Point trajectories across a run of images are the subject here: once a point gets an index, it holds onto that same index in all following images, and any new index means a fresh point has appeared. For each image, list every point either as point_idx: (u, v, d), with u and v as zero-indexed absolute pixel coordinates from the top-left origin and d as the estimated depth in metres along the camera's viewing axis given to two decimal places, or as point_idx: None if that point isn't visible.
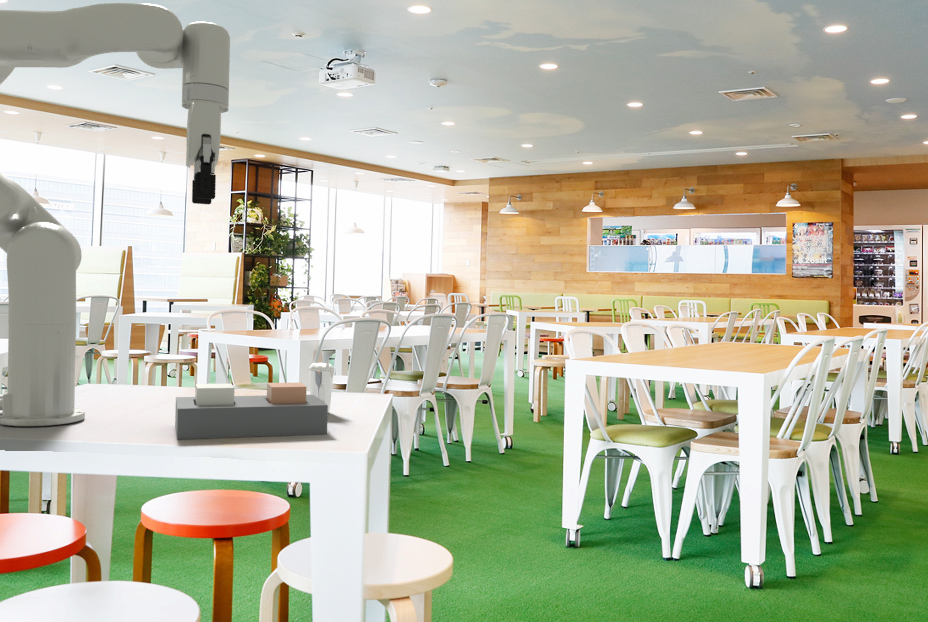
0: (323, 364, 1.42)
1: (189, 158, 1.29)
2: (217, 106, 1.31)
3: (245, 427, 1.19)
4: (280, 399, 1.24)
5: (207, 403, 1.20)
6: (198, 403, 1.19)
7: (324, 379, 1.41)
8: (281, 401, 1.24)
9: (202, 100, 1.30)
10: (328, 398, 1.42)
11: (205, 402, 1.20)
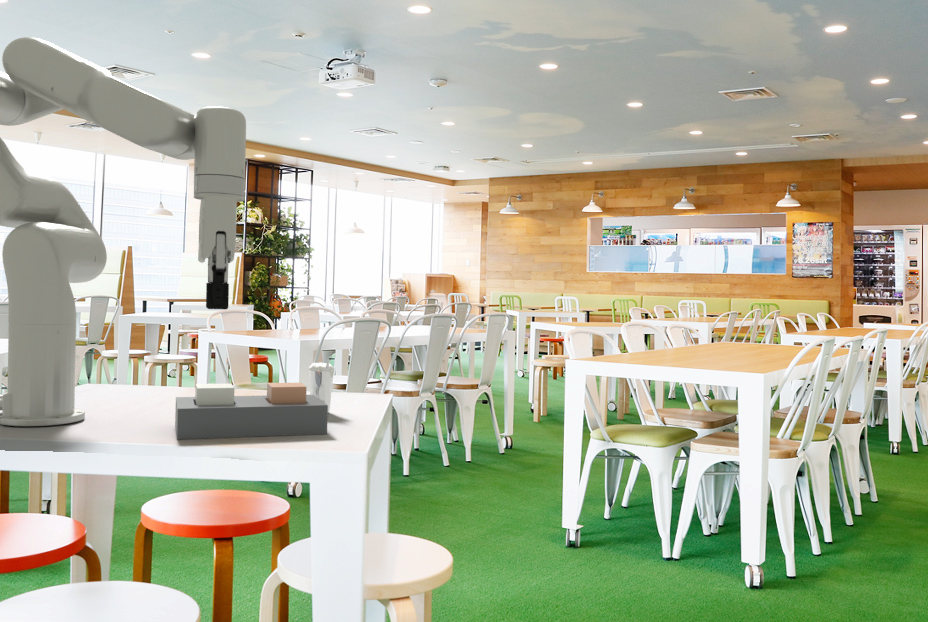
0: (323, 364, 1.42)
1: (202, 258, 1.17)
2: (233, 199, 1.19)
3: (245, 427, 1.19)
4: (280, 399, 1.24)
5: (207, 403, 1.20)
6: (198, 403, 1.19)
7: (324, 379, 1.41)
8: (281, 401, 1.24)
9: (216, 193, 1.18)
10: (328, 398, 1.42)
11: (205, 402, 1.20)
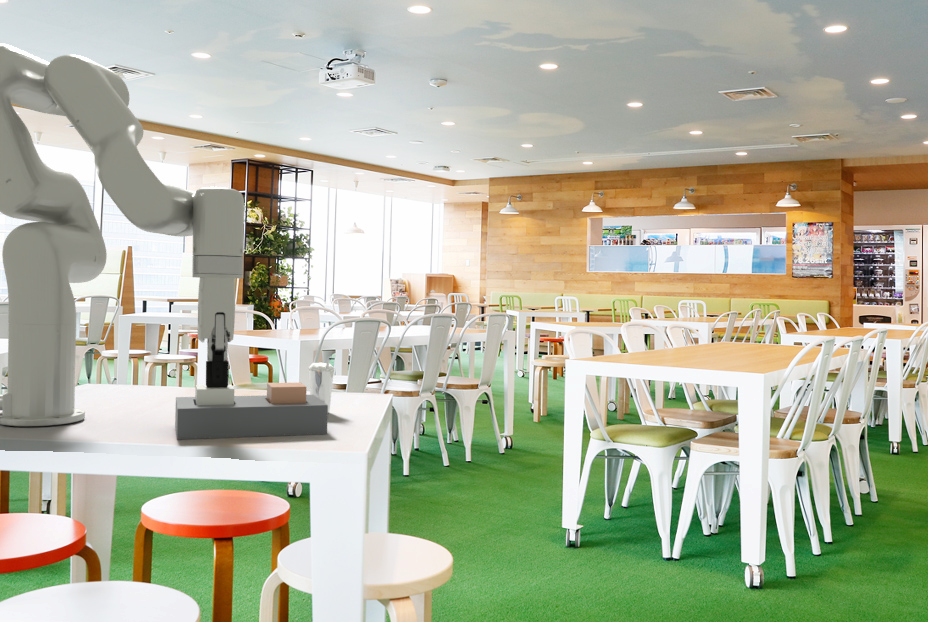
0: (323, 364, 1.42)
1: (201, 339, 1.17)
2: (231, 279, 1.19)
3: (245, 427, 1.19)
4: (280, 399, 1.24)
5: (207, 404, 1.20)
6: (198, 404, 1.19)
7: (324, 379, 1.41)
8: (281, 401, 1.24)
9: (215, 274, 1.19)
10: (328, 398, 1.42)
11: (205, 403, 1.20)
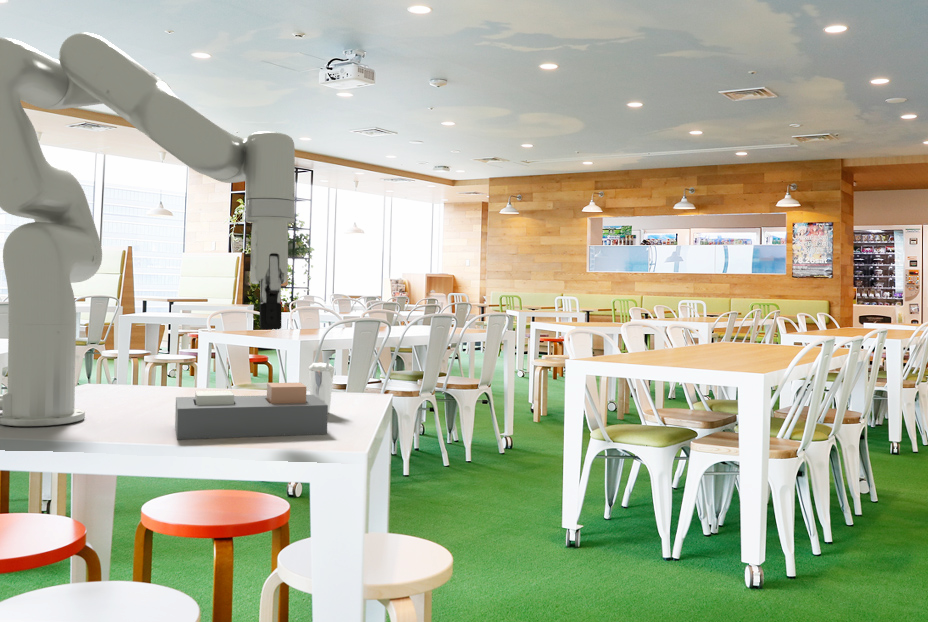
0: (323, 364, 1.42)
1: (257, 280, 1.20)
2: (284, 222, 1.22)
3: (245, 427, 1.19)
4: (280, 399, 1.24)
5: None
6: None
7: (324, 379, 1.41)
8: (281, 401, 1.24)
9: (268, 216, 1.21)
10: (328, 398, 1.42)
11: None
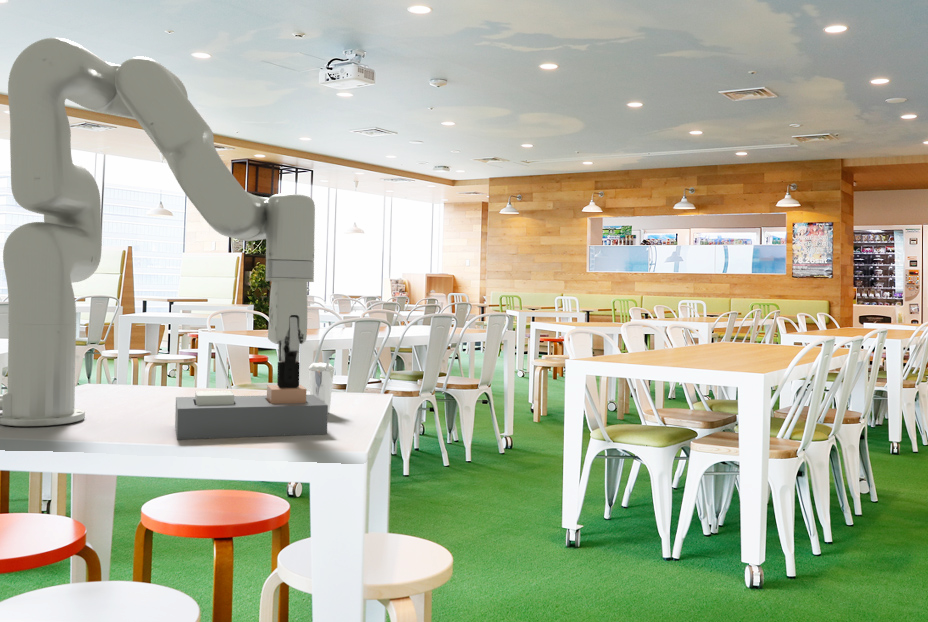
0: (323, 364, 1.42)
1: (276, 341, 1.22)
2: (304, 283, 1.23)
3: (245, 427, 1.19)
4: (280, 401, 1.24)
5: None
6: None
7: (324, 379, 1.41)
8: None
9: (289, 278, 1.23)
10: (328, 398, 1.42)
11: None
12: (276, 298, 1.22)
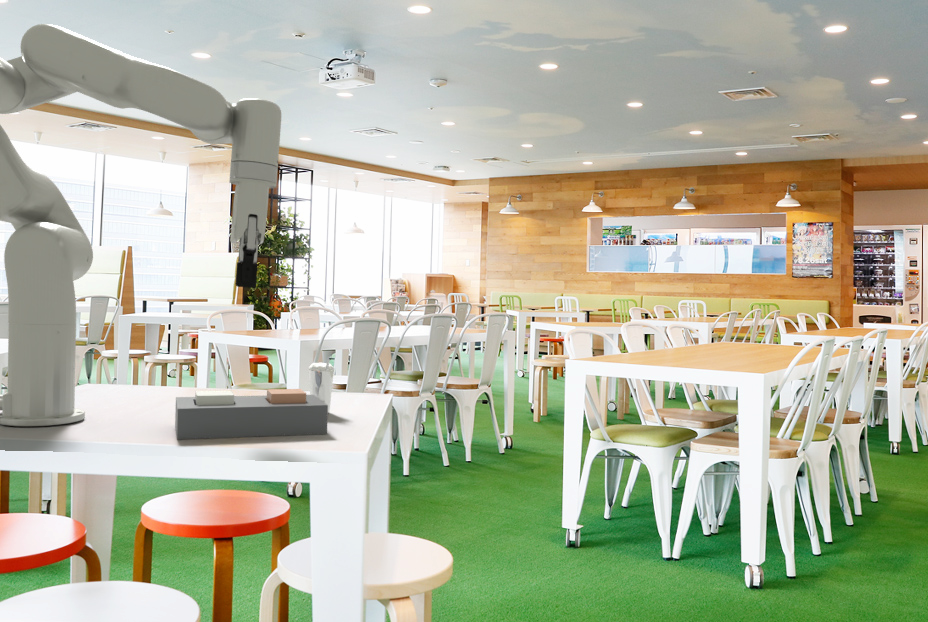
0: (323, 364, 1.42)
1: (234, 238, 1.26)
2: (265, 185, 1.27)
3: (245, 427, 1.19)
4: None
5: None
6: None
7: (324, 379, 1.41)
8: None
9: (250, 179, 1.27)
10: (328, 398, 1.42)
11: None
12: (237, 197, 1.26)
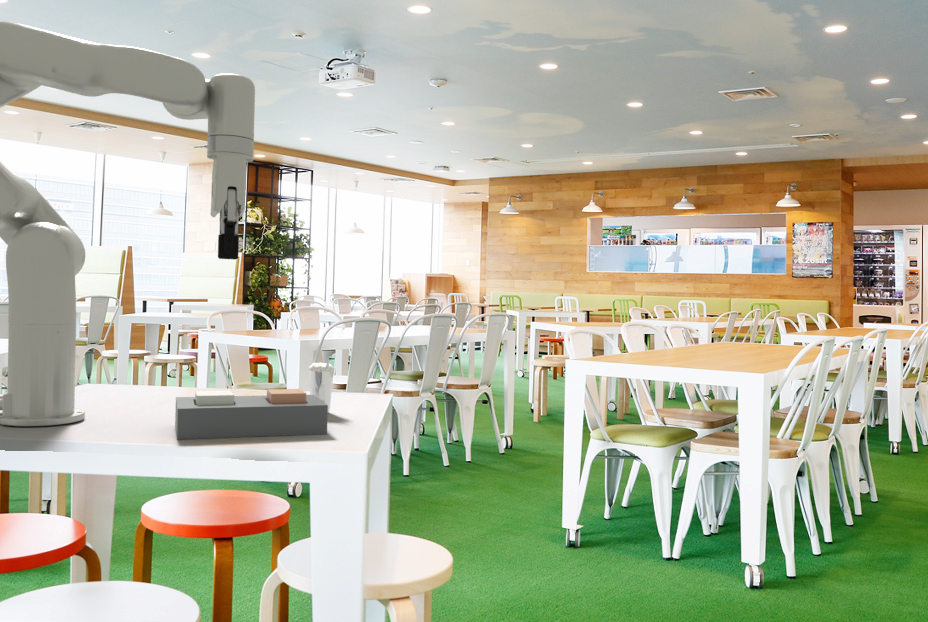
0: (323, 364, 1.42)
1: (215, 210, 1.29)
2: (243, 158, 1.31)
3: (245, 427, 1.19)
4: None
5: None
6: None
7: (324, 379, 1.41)
8: None
9: (228, 152, 1.30)
10: (328, 398, 1.42)
11: None
12: (215, 170, 1.29)
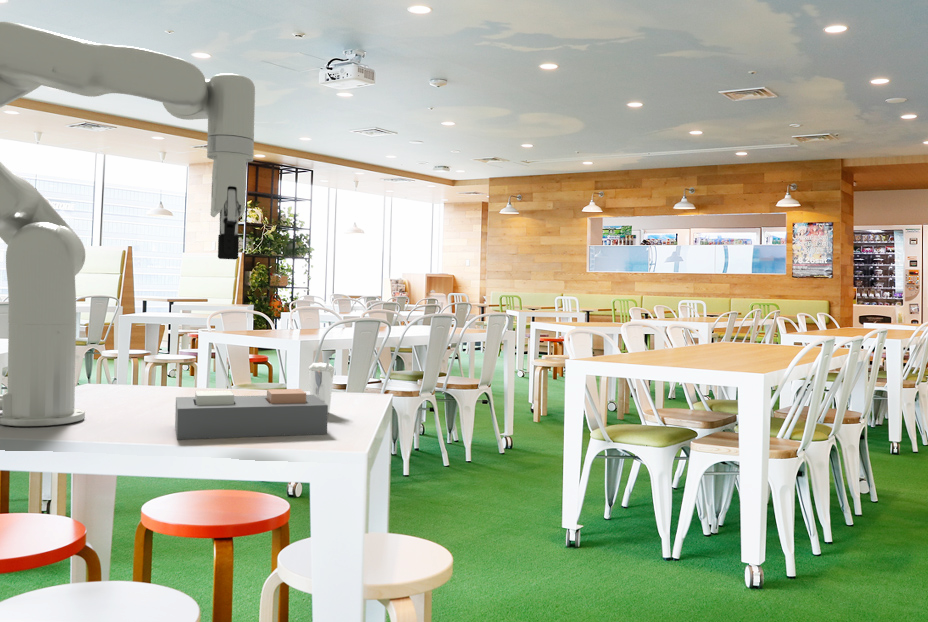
0: (323, 364, 1.42)
1: (215, 210, 1.29)
2: (243, 158, 1.31)
3: (245, 427, 1.19)
4: None
5: None
6: None
7: (324, 379, 1.41)
8: None
9: (228, 152, 1.30)
10: (328, 398, 1.42)
11: None
12: (215, 170, 1.29)
